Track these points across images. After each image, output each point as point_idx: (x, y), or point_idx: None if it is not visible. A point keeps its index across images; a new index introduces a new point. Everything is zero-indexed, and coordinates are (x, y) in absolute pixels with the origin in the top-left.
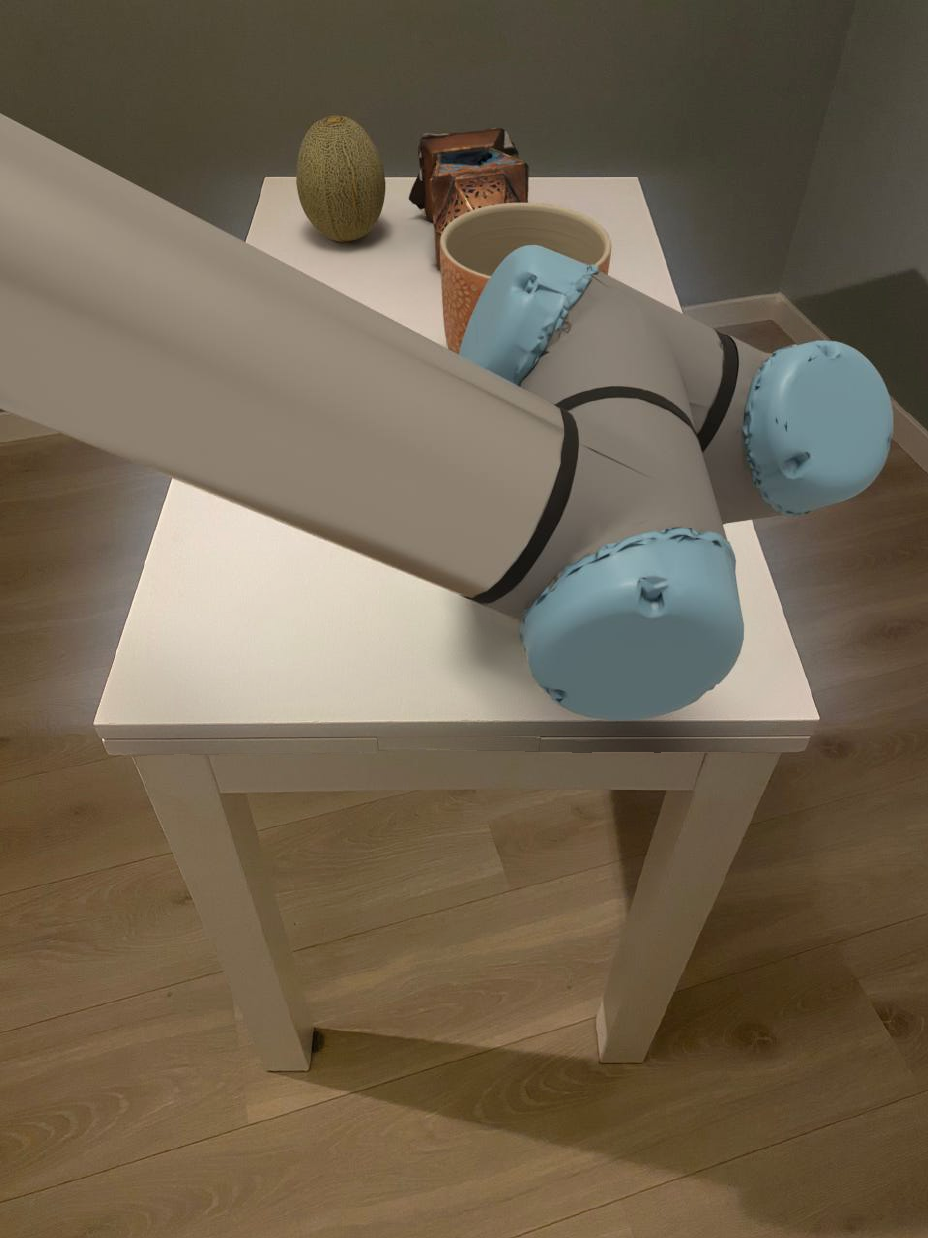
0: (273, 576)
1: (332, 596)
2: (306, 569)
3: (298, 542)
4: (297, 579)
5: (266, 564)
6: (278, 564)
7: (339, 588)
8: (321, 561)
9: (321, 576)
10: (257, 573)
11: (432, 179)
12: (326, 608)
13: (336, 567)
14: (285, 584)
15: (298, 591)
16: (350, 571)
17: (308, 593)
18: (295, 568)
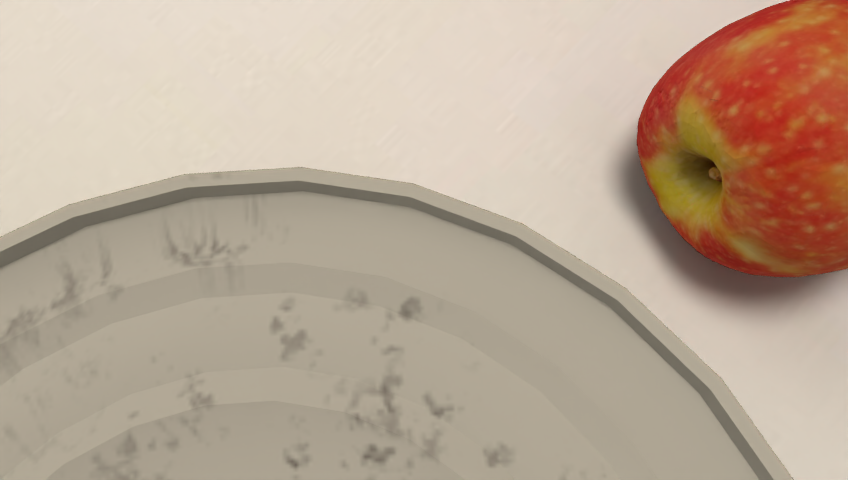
0: (22, 58)
1: (57, 187)
2: (86, 86)
3: (139, 14)
4: (48, 97)
5: (41, 23)
6: (58, 38)
7: (87, 178)
8: (127, 88)
9: (90, 123)
10: (8, 31)
11: None
12: (17, 208)
13: (135, 123)
14: (19, 92)
15: (20, 126)
16: (147, 153)
17: (29, 145)
18: (72, 69)
